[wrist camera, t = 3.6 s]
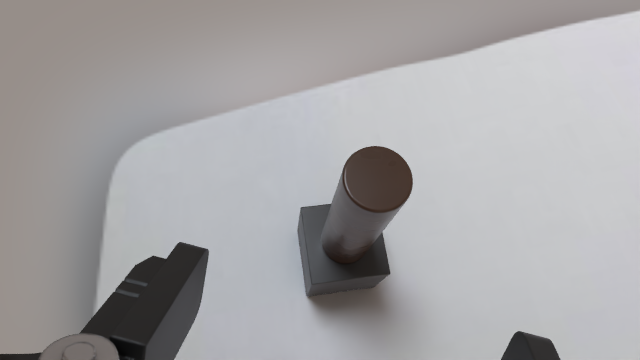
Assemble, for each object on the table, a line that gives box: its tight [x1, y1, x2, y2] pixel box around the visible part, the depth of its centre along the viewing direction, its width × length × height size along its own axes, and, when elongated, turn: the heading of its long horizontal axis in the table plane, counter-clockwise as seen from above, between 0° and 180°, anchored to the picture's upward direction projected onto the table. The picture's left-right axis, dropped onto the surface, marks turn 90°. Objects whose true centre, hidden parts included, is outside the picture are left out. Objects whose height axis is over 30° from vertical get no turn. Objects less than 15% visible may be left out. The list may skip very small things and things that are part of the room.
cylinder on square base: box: [298, 146, 413, 296], centre depth 21 cm, size 4×4×12 cm
